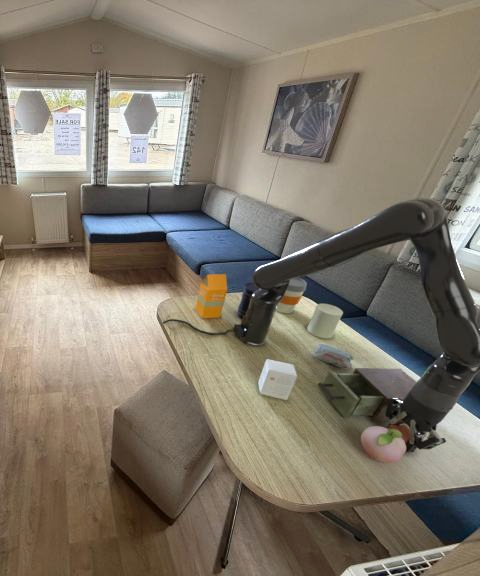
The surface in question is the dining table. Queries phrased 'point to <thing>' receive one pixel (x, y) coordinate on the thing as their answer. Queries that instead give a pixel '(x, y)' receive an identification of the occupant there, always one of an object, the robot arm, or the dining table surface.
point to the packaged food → (334, 356)
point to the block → (402, 431)
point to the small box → (277, 379)
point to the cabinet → (386, 387)
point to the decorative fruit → (383, 444)
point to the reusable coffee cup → (292, 295)
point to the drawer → (351, 394)
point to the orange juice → (211, 296)
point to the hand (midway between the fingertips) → (397, 442)
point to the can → (324, 320)
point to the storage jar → (246, 299)
